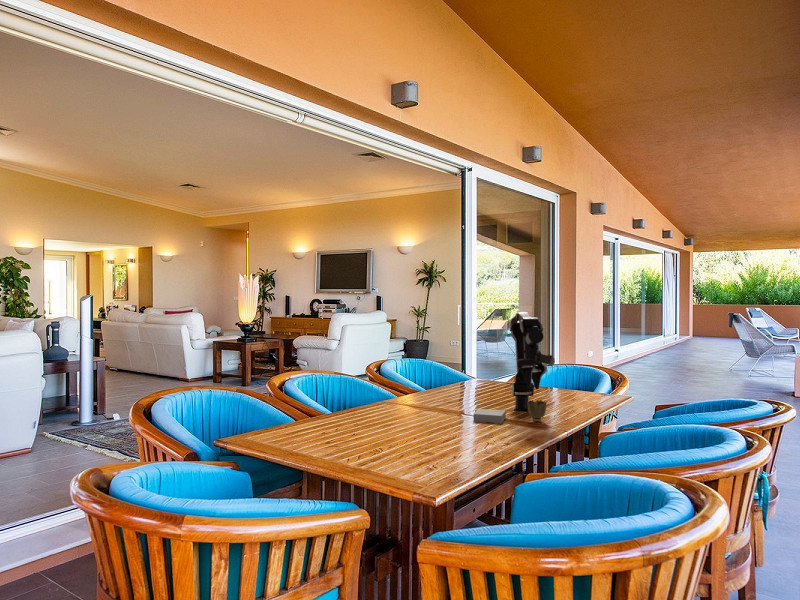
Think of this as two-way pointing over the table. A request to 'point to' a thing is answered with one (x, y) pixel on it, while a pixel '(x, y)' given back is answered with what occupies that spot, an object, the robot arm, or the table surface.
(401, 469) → the table surface
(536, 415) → the ornate bronze lamp shade
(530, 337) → the robot arm
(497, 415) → the plinth
